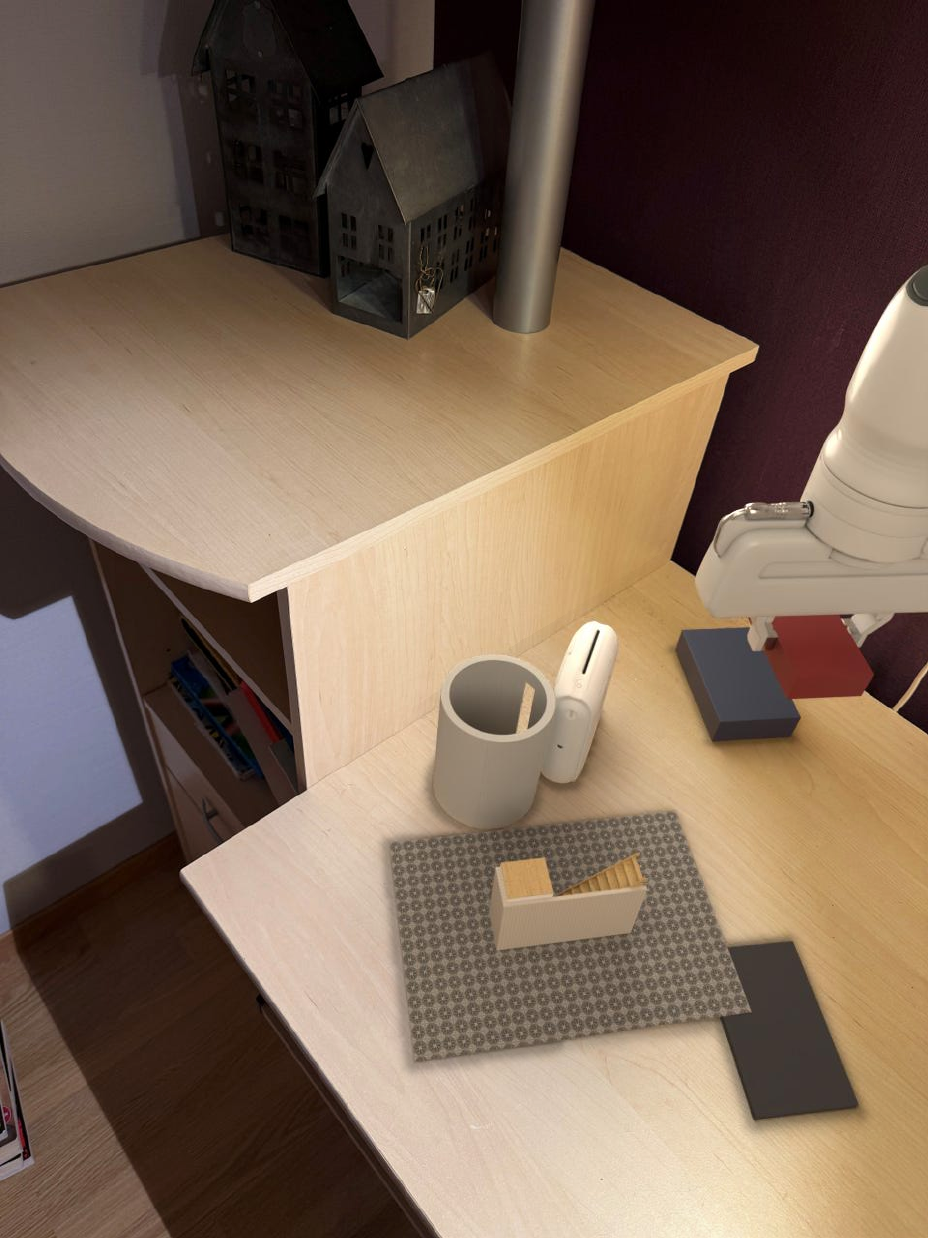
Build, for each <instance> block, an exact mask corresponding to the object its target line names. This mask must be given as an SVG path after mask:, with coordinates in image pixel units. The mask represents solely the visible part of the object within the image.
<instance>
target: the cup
mask: <svg viewBox="0 0 928 1238" xmlns="http://www.w3.org/2000/svg"><path fill="white" fill-rule="evenodd" d="M526 684H528V686H530V687H531V688H532V689H533V690H534V692H533V697H532V703H531V706H530V707H531V708H530V712H529V717H528V722H527V728H526V730H523V731H520V732H518V727H519V721H520V717H521V711H522V706H523V699H524V694H525V691H526V690H525V689H526ZM553 689H554V688H553V686H552V684H551V682H550V681H549V679H548V678H547V676H545V675H544V673H543V672H542V671H540V669H538V668H537V667H536V666H534V665H532V664H531V663H529V662H528V661H526V660H523V659H521V658H518V657H515V656H511V655H506V654H501V653H500V654H499V653H488V654H487V653H485V654H478V655H476V656H475V655H474V656H471V657H469V658H466V659H464V660H462V661H460V662H458V663H457V664H456V665H455V666H453V667H452V668H451V669H450V670H449V672H447V674H446V676H444V679H443V681H442V684H441V688H440V694H439V706H438V719H437V727H436V728H437V729H436V741H435V750H434V751H435V753H434V765H433V773H432V789H433V793H434V797H435V799H436V800H437V803H438V805H439V806H440V807H441V809H442V810H443V811H444V812H445V813H446V814H447V815H448V816H449V817H451V818H452V819H453V820H455V821H456V822H458V823H460V824H463V825H464V826H467V827H470V828H473V829H475V828H476V829H482V830H497V829H501V828H505V827H508V826H510V825H513V824H515V823H516V822H518V821H519V820H521V819H522V818H523V817H524V816H525V815H526V814H527V813H528V812H529V811H530V809H531V807H532V806H533V804H534V801H535V798H536V794H537V790H538V786H539V780H540V777H541V773H542V772H541V768H542V763H543V759H544V755H545V750H546V746H547V741H548V737H549V733H550V728H551V724H552V719H553V715H554V710H555V695H554V691H553Z"/></svg>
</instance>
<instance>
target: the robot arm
mask: <svg viewBox="0 0 928 1238" xmlns="http://www.w3.org/2000/svg"><path fill="white" fill-rule="evenodd" d="M876 323H877V324H876V325H875V328H874V329H873V331H872V333H871V335H870V337H869V339H868V341H867V343H866V345H865V347H864V349H863V351H862V354H861V355H860V357H859V360H858V362H857V364H856V366H855V369H854V371H853V373H852V377H851V379H850V381H849V382H848V386H847V389H846V393H845V398H844V399H845V400H844V409H843V413H842V416H841V418H840V420H839V422H838V424H837V425H836V426H835V427H834V428H833V429H832V430H831V432H830V433H829V434H828V435H827V437H826V439H825V441H824V442H823V445H822V447H821V449H820V453H819V455H818V457H817V459H816V462H815V464H814V466H813V469H812V471H811V473H810V476H809V479H808V480H807V483H806V486H805V487H804V490H803V493H802V495H801V497H800V501H786V502H785V501H784V502H778V503H766V502H762V501H761V502H758V501H757V502H750V503H746V504H745V505H743V508H741V509H737V510H734V511H733V512H731V513H730V514H726V515H725V516H723V517H722V518H721V520H720V521H719V522H718V526H717V528H716V530H715V534H714V537H713V540H712V542H711V543H710V545H709V547H708V549H707V551H706V552H705V555H704V557H703V559H702V561H701V563H700V565H699V567H698V570H697V572H696V575H695V577H694V585H695V589H696V593H697V595H698V598H699V599H700V602H701V603H702V605H703V607H704V609H705V610H706V611H707V612H708V614H709V615H710V616H711V617H712V618H714V619H739V618H748V617H750V618H751V621H752V625H751V624H750V626H749V627H750V630H749V632H748V636H747V638H748V642H749V644H750V646H751V648H752V650H753V651H769V650H772V649H773V647H774V646H773V645H774V644H775V643H776V641H777V639H778V635H777V633H776V631H775V630H773V625H772V622H773V620H774V618H775V617H777V616H810V615H842V616H843V615H852V616H851V617H848V618H847V617H846V618H841V620H842V621H843V623H844V625H845V626H846V627H847V630H848V632H849V633H850V635H851V636H852V638H853V639H854V641H855V643H856V645H857V646H858V648H859V649H860V648H861V647H862V646H863V644H864V642H865V640H866V639H867V637H868V635H871V634H872V633H873V632H875V631H876V630H878V629H879V628H882V626H884V625H885V624H887V623H888V622H890V621H891V620H892V619H893V617H894V615H895V614H905V613H906V614H907V613H928V264H926V265H924V266H922V267H921V268H919V269H917V271H915V272H914V273H913V274H912V275H911V276H910V277H909V278H908V279H907V280H906V281H905V282H904V283H903V284H902V285H901V287H900V288H899V289H898V290H897V292H896V293H895V294H894V296H893V297H892V299H891V300H890V301H889V303H888V304H887V306H886V308H884V311H883V313H882V314H881V316H880V318H879V320H878V322H876Z"/></svg>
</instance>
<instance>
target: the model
mask: <svg viewBox="0 0 928 1238" xmlns="http://www.w3.org/2000/svg"><path fill="white" fill-rule="evenodd" d="M640 855H641V853H640V852H636V853H634V854H632V855H630V856H628V857H626V858H624V859H622V860H620V861H618V862H616V863H614V864H613V865H611V866H609V867H607V868H605V869H603V870H601V871H599V872H597V873H595V874H593V875H592V876H590V877H588V878H586V879H584V880H582V881H580V882H578V883H576V884H574V885H572V886H570V887H569V888H567V889H565V890H563V891H561V892H559V893H557V894H555V895H554V889H553V885H552V881H551V877H550V873H549V869H548V865H547V861H546V858H545V857H536V858H527V859H519V860H510V861H502V862H501V863H500V864H499V866H495V867H494V874H493V881H492V888H491V895H490V902H489V909H488V913H489V918H490V923H491V928H492V934H493V939H494V944H495V949H496V950H497V951H501V950H505V949H508V950H509V949H513V948H521V947H529V946H537V945H545V944H553V943H561V942H566V941H567V942H569V941H574V940H582V939H590V938H598V937H606V936H614V935H622V934H630V933H631V932H632V931H633V928H634V926H635V923H636V920H637V918H638V915H639V913H640V910H641V907H642V905H643V902H644V900H645V897H646V894H647V892H648V887H647V885H646V884H645V885H643V883H646V882H648V881H649V878H648V877H645V878H643V874H642V871H641V868H640V865H639V862H638V859H637V857H639V856H640Z"/></svg>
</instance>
